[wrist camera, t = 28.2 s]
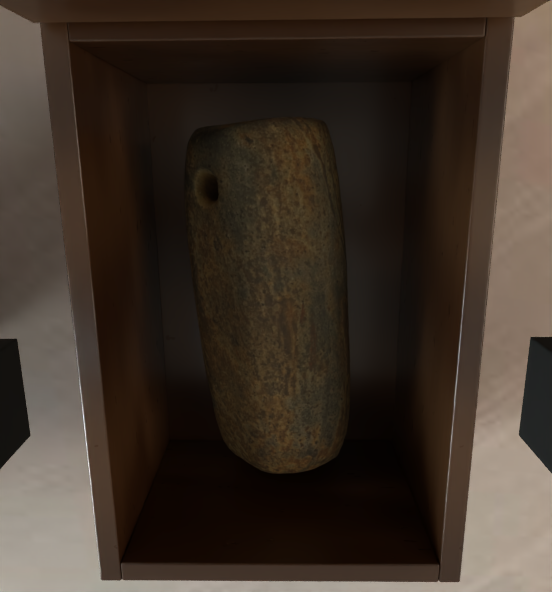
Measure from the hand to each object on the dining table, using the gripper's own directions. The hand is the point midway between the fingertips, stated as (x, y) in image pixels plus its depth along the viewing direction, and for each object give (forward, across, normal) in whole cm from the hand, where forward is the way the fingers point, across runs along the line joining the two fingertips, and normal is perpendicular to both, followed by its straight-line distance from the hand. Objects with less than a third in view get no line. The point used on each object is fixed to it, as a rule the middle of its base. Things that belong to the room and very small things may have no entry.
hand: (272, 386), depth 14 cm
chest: (+14, 0, 0) cm, 14 cm away
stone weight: (+13, 0, 0) cm, 13 cm away
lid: (-7, 0, +9) cm, 12 cm away
